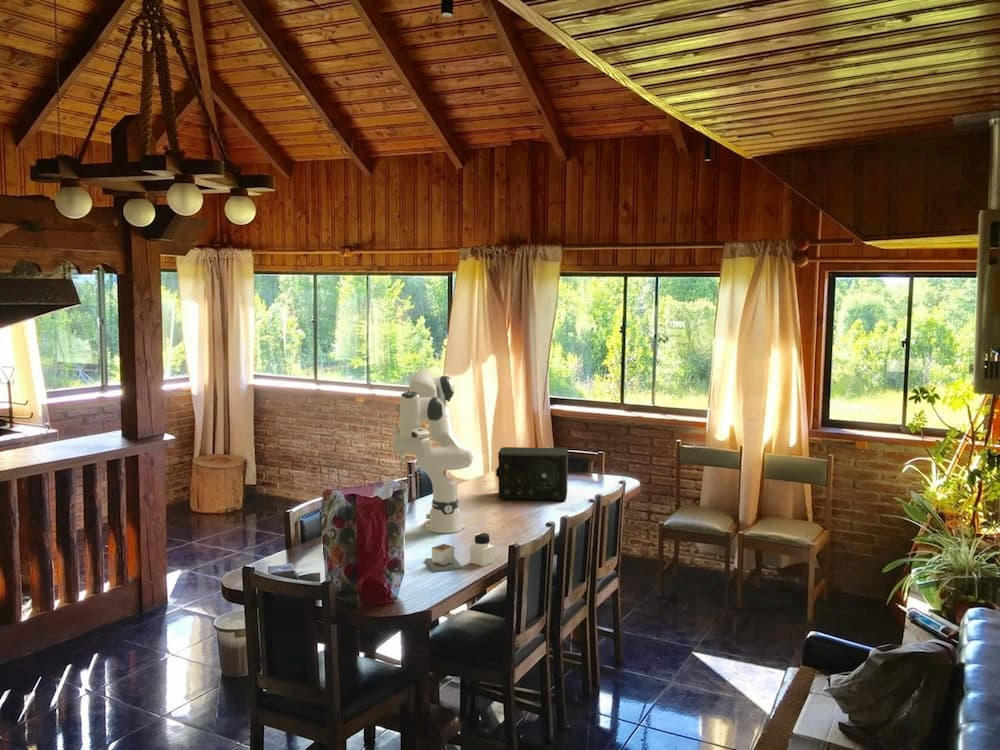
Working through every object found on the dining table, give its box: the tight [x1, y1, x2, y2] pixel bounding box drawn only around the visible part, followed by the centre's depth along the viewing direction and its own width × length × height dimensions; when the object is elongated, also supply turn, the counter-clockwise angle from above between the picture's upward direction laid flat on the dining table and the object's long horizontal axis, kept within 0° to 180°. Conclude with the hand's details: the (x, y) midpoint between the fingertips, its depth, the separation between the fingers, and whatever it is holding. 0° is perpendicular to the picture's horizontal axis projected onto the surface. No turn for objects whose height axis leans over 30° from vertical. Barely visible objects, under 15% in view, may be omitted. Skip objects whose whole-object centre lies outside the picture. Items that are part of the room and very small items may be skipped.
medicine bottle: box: [469, 532, 495, 567], centre depth 356 cm, size 7×7×12 cm
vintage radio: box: [495, 446, 569, 502], centre depth 458 cm, size 38×20×25 cm, turn 83°
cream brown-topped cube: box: [431, 543, 456, 565], centre depth 354 cm, size 7×7×6 cm
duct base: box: [424, 557, 463, 573], centre depth 354 cm, size 14×12×5 cm
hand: (411, 463), depth 364 cm, fingers open, 8 cm apart
